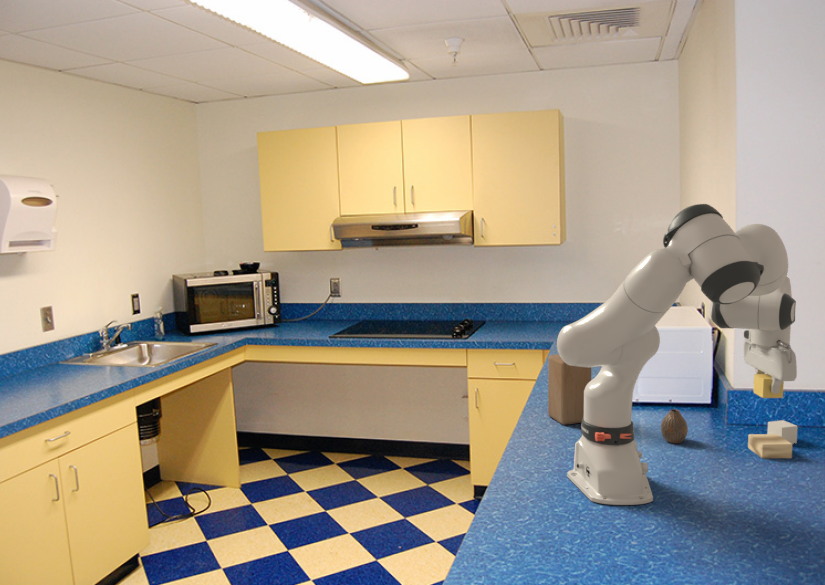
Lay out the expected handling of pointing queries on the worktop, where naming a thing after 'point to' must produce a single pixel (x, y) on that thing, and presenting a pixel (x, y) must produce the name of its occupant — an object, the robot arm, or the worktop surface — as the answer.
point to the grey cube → (783, 430)
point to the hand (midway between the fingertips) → (768, 389)
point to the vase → (674, 427)
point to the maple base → (769, 446)
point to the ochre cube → (765, 386)
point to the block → (566, 390)
